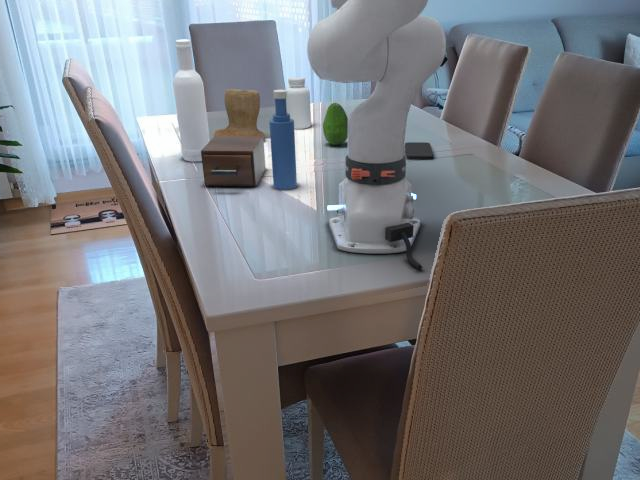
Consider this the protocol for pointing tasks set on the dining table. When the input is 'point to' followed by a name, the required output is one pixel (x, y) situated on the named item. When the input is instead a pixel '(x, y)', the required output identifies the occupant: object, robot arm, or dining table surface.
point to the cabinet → (239, 146)
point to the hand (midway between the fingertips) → (342, 28)
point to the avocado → (335, 124)
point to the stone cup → (241, 113)
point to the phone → (418, 150)
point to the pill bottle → (298, 103)
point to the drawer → (228, 169)
